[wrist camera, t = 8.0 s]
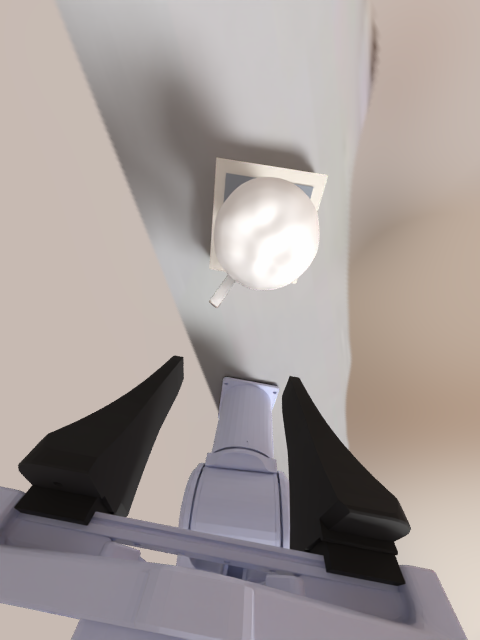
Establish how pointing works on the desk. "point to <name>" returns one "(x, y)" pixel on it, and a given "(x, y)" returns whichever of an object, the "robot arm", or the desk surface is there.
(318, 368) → the desk surface
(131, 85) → the desk surface
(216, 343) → the desk surface
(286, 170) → the plinth
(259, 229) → the milkshake
